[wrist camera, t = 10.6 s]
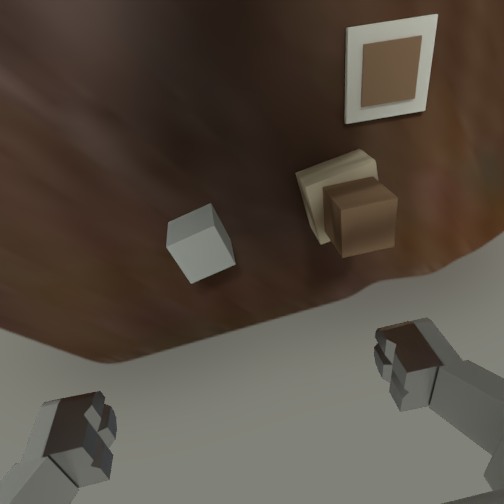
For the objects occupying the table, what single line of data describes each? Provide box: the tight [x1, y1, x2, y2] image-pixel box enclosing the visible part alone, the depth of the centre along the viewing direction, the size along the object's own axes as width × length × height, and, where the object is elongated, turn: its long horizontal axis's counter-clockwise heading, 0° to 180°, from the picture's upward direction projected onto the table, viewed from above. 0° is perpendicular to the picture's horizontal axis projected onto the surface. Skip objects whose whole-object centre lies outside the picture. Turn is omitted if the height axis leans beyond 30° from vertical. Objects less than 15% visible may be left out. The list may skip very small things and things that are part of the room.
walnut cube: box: [323, 176, 398, 258], centre depth 35 cm, size 5×5×5 cm
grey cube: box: [166, 203, 236, 284], centre depth 38 cm, size 5×5×5 cm
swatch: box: [344, 14, 438, 124], centre depth 34 cm, size 8×8×1 cm
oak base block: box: [295, 149, 378, 245], centre depth 38 cm, size 7×7×4 cm
